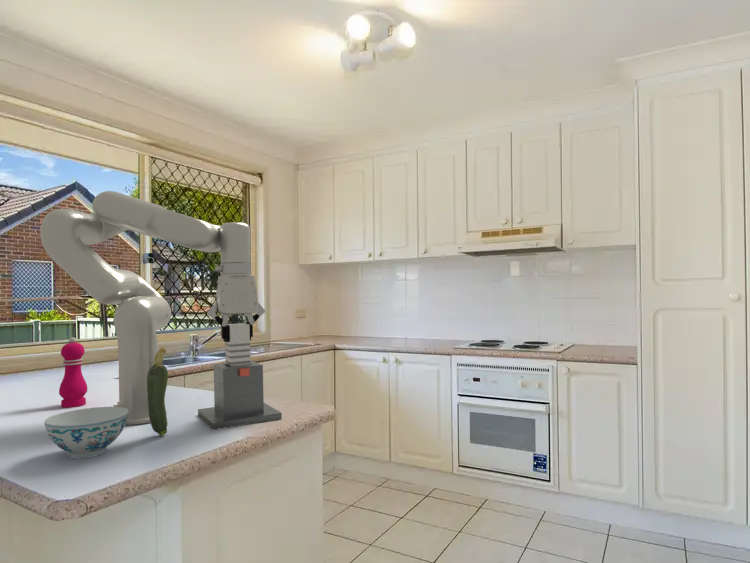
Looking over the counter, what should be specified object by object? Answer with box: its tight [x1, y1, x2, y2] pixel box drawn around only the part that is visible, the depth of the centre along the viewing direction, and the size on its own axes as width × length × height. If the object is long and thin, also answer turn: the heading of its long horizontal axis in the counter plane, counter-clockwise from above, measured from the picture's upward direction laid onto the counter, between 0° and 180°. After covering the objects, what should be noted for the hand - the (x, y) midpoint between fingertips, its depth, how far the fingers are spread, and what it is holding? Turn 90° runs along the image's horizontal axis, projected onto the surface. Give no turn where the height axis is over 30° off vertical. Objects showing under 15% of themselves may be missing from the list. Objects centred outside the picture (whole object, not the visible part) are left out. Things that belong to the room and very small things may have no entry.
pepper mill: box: [58, 336, 89, 408], centre depth 149 cm, size 7×7×20 cm
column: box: [224, 323, 251, 367], centre depth 131 cm, size 5×5×18 cm
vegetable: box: [147, 347, 169, 436], centre depth 116 cm, size 4×4×20 cm
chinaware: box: [43, 406, 128, 459], centre depth 104 cm, size 15×15×8 cm
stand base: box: [197, 360, 283, 430], centre depth 131 cm, size 17×17×14 cm
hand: (237, 340), depth 131 cm, fingers closed on column, 5 cm apart
